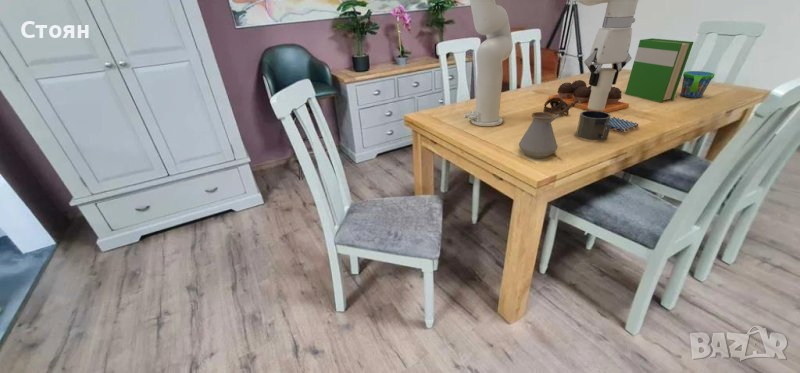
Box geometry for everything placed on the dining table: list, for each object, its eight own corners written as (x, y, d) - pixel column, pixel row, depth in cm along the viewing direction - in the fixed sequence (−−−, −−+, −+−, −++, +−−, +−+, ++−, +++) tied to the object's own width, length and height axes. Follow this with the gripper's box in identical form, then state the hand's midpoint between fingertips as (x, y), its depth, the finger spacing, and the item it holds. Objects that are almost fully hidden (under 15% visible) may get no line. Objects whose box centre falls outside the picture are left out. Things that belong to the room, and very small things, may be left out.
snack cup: (680, 90, 160) (688, 68, 155) (708, 94, 153) (717, 71, 148) (672, 98, 151) (680, 74, 146) (702, 101, 144) (711, 77, 139)
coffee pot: (536, 164, 101) (544, 116, 94) (510, 151, 110) (515, 107, 103) (585, 148, 109) (596, 103, 102) (556, 138, 118) (564, 95, 111)
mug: (570, 133, 121) (575, 112, 117) (593, 131, 122) (598, 109, 118) (592, 146, 111) (598, 123, 107) (617, 143, 111) (623, 120, 108)
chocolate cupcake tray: (628, 107, 143) (633, 87, 139) (601, 114, 137) (606, 93, 133) (573, 94, 165) (576, 76, 161) (548, 99, 159) (551, 81, 155)
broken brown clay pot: (573, 118, 136) (568, 103, 131) (549, 128, 139) (544, 113, 135) (564, 103, 144) (560, 88, 139) (542, 112, 148) (537, 98, 143)
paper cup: (593, 111, 110) (603, 72, 104) (581, 106, 115) (590, 68, 109) (610, 109, 110) (621, 70, 104) (598, 104, 116) (607, 67, 109)
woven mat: (594, 127, 125) (595, 121, 124) (611, 121, 130) (612, 116, 129) (621, 135, 117) (623, 129, 116) (639, 128, 122) (641, 123, 121)
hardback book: (673, 100, 148) (693, 41, 136) (660, 102, 146) (680, 43, 134) (636, 91, 163) (652, 38, 151) (624, 93, 161) (640, 39, 149)
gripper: (633, 20, 104) (617, 80, 113) (582, 24, 102) (570, 84, 111) (653, 22, 98) (634, 85, 107) (599, 26, 96) (584, 89, 105)
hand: (601, 83), depth 109 cm, fingers closed on paper cup, 5 cm apart
